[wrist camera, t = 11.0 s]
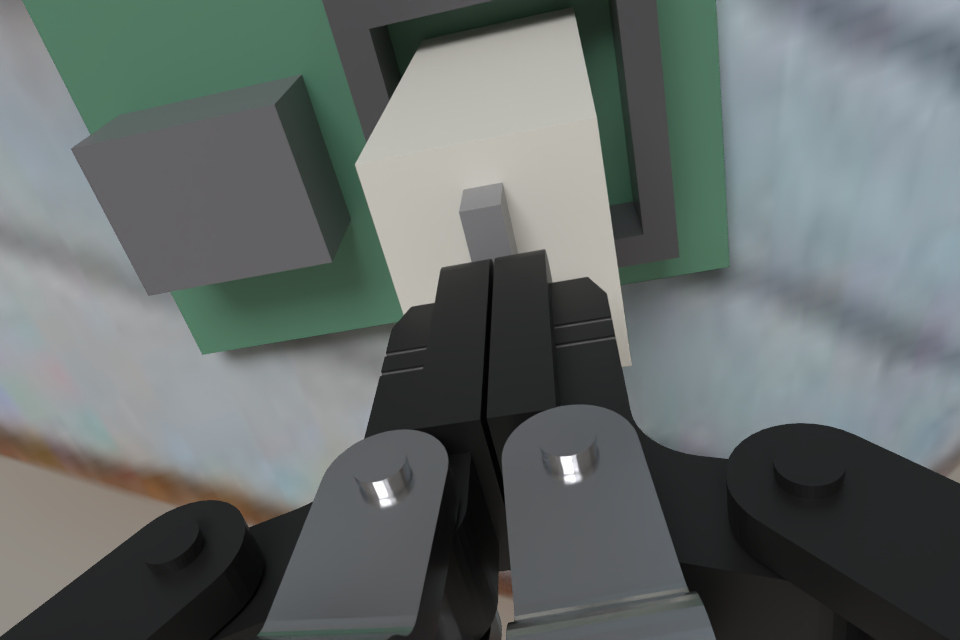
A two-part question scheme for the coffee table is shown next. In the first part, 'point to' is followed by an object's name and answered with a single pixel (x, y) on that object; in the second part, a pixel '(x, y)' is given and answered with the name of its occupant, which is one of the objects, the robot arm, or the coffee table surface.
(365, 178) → the plug
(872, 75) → the coffee table surface
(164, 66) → the header board
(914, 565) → the robot arm
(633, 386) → the coffee table surface
